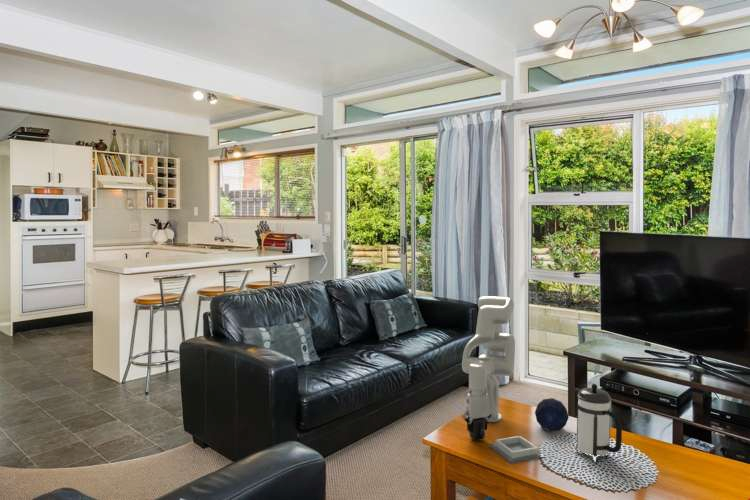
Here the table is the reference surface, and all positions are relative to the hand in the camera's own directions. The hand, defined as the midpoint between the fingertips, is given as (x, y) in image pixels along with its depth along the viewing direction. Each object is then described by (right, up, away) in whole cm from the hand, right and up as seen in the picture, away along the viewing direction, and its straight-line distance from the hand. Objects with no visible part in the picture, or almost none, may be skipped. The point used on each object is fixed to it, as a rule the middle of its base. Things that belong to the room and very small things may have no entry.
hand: (477, 429), depth 222 cm
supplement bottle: (0, -4, 0) cm, 4 cm away
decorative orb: (+37, -4, +11) cm, 39 cm away
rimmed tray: (+14, -5, -11) cm, 19 cm away
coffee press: (+46, -6, -15) cm, 49 cm away
